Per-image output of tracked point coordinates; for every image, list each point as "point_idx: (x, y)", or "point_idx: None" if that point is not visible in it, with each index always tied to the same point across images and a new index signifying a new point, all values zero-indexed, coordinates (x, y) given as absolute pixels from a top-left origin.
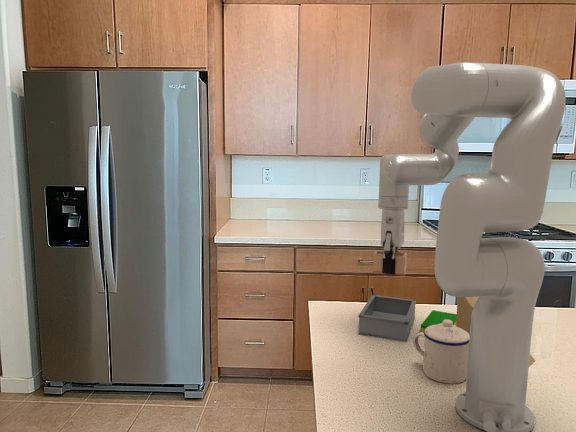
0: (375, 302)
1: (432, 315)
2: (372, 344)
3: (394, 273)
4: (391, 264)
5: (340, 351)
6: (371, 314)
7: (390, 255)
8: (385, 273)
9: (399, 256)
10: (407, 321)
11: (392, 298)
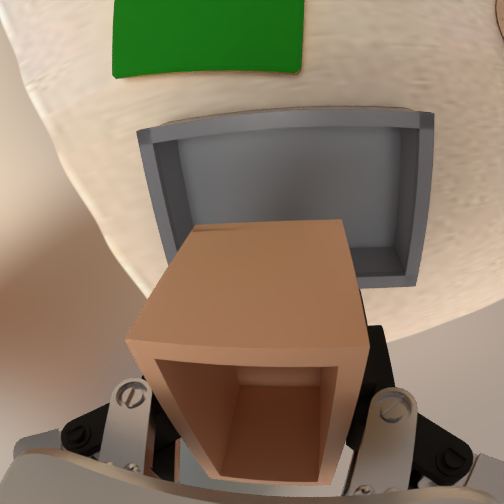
0: None
1: (171, 58)
2: (451, 201)
3: (359, 291)
4: (389, 363)
5: (495, 261)
6: None
7: (451, 437)
8: None
9: (359, 387)
10: (426, 118)
11: (169, 220)
